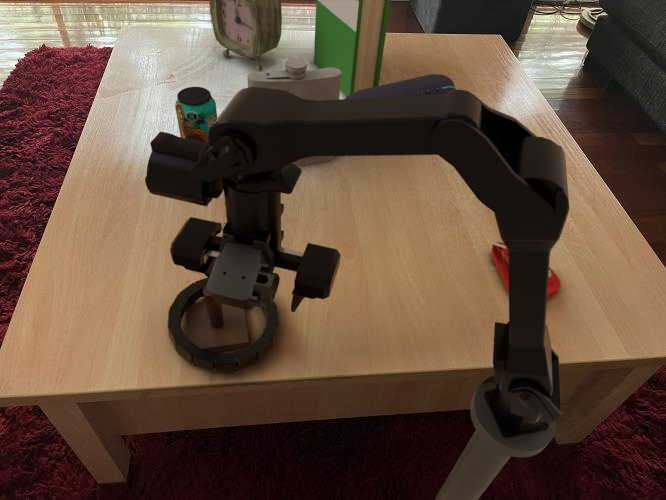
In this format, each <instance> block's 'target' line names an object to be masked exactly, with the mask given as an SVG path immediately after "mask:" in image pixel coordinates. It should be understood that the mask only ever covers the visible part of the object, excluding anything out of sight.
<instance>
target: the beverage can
mask: <svg viewBox="0 0 666 500" xmlns="http://www.w3.org/2000/svg"><path fill="white" fill-rule="evenodd" d="M176 97H177V99H176V101H175V102H174V103H175V104H174V107H175V113H176V119H177V125H178V130H179V137H182V138H186V139H191V140H196V141H200V142H205V143H207V142H208V135H209V130H210V128H211V126H212V125H213V123H214V122H215V121H216V119H217V118H218V113H217V103H216V100H215V99H214V97H213V96H212V93H211V91H210V90H209V89H207V88H205V87H201V86H189V87H185V88H182V89H181V90H179V91H178V93H177V95H176Z"/></svg>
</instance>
